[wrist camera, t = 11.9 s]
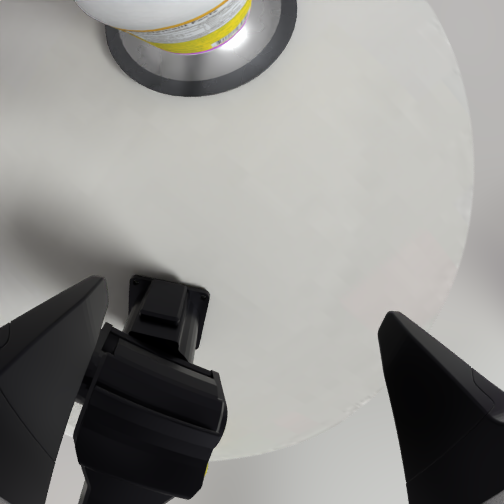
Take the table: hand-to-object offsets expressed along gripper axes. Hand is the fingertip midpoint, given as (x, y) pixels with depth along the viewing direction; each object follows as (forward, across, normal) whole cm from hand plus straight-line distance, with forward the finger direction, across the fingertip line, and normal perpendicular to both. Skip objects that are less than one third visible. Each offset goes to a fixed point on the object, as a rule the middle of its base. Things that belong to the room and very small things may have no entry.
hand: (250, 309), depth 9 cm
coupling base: (+13, +5, -11) cm, 18 cm away
